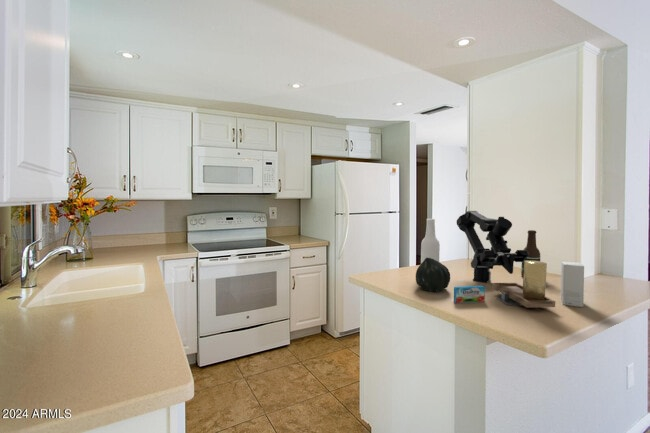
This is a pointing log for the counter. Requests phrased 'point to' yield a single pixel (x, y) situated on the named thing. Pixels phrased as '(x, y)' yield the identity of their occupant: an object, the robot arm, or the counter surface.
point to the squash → (432, 275)
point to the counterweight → (534, 280)
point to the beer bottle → (531, 249)
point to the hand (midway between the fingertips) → (511, 273)
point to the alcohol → (430, 243)
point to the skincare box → (572, 284)
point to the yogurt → (469, 294)
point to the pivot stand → (507, 299)
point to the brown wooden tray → (521, 295)
